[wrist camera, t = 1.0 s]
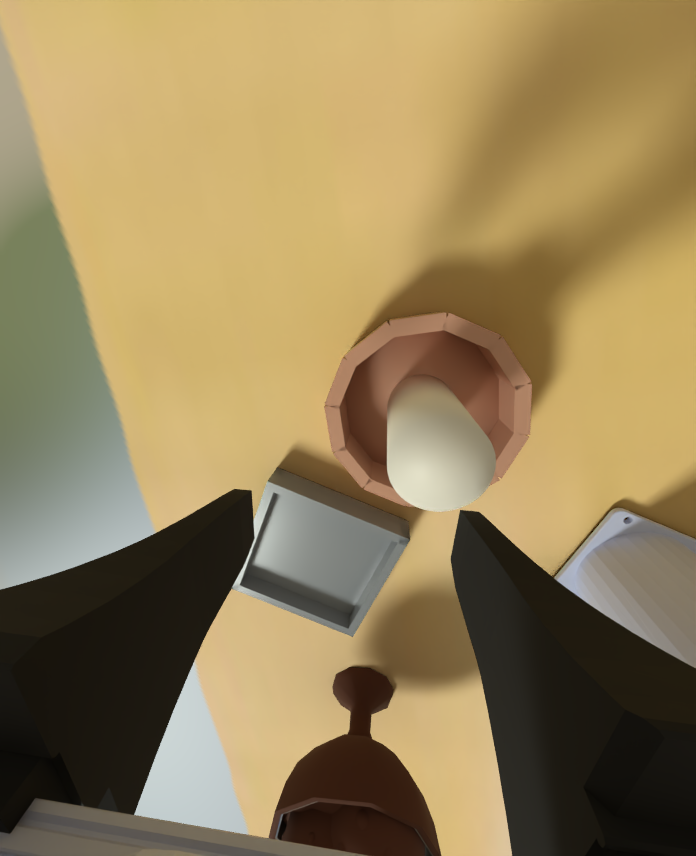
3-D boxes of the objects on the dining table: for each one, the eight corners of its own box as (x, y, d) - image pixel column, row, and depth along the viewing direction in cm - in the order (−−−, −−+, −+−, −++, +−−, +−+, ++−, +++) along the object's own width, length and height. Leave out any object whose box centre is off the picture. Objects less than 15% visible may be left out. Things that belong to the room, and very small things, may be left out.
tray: (408, 521, 23) (410, 539, 21) (355, 613, 27) (352, 636, 25) (277, 467, 23) (267, 481, 21) (241, 568, 27) (230, 587, 25)
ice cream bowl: (394, 632, 27) (401, 981, 13) (440, 719, 30) (485, 1078, 16) (284, 656, 30) (190, 970, 16) (336, 734, 33) (296, 1056, 18)
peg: (467, 390, 19) (517, 441, 12) (435, 447, 21) (462, 526, 13) (404, 363, 19) (414, 398, 12) (377, 423, 21) (370, 488, 13)
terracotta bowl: (547, 358, 19) (575, 367, 16) (456, 503, 22) (466, 531, 20) (375, 284, 18) (372, 279, 16) (312, 444, 22) (301, 463, 19)
